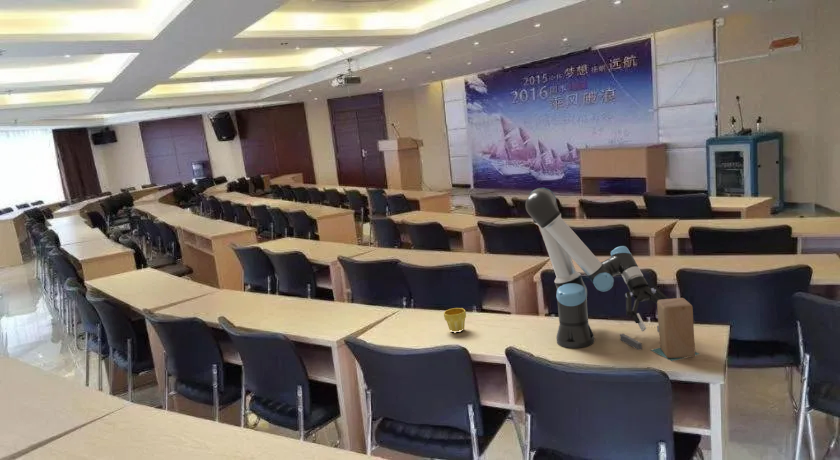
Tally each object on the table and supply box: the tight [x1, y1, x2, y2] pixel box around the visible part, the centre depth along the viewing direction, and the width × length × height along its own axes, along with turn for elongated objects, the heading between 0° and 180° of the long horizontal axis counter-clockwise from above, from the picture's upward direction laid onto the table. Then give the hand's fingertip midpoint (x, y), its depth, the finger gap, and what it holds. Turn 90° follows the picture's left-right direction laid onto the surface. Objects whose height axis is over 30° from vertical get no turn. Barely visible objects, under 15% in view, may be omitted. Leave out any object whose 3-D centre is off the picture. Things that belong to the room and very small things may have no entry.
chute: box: [619, 324, 659, 351], centre depth 222 cm, size 12×19×2 cm, turn 104°
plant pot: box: [443, 307, 467, 331], centre depth 261 cm, size 10×10×10 cm
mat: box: [650, 347, 700, 362], centre depth 208 cm, size 12×12×1 cm
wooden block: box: [656, 297, 696, 359], centre depth 205 cm, size 10×10×20 cm
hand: (659, 326), depth 214 cm, fingers open, 13 cm apart
